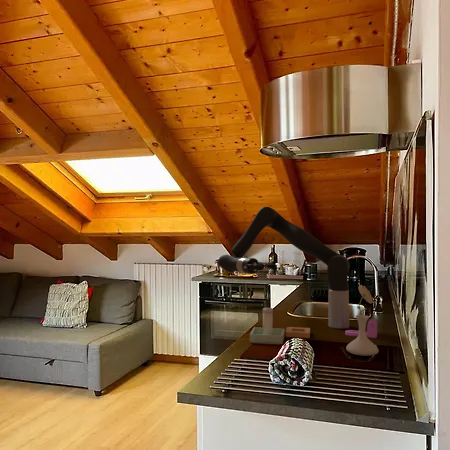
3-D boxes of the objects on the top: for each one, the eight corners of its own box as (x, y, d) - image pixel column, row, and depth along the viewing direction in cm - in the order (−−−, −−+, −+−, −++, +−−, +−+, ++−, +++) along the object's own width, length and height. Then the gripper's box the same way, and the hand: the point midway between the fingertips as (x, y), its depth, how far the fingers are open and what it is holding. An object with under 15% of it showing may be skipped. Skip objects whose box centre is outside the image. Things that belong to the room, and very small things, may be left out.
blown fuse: (273, 336, 188) (273, 307, 188) (272, 339, 184) (272, 309, 184) (263, 336, 189) (263, 307, 189) (261, 338, 185) (262, 309, 185)
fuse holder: (310, 332, 200) (310, 328, 200) (309, 337, 190) (309, 333, 190) (287, 331, 202) (287, 327, 202) (285, 336, 192) (285, 331, 192)
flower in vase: (380, 359, 159) (380, 288, 159) (347, 357, 161) (347, 287, 162) (375, 349, 172) (376, 283, 172) (344, 347, 174) (345, 282, 174)
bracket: (377, 335, 196) (377, 319, 196) (376, 338, 190) (376, 321, 190) (346, 332, 200) (346, 317, 200) (344, 335, 195) (344, 319, 195)
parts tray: (284, 336, 191) (284, 328, 191) (282, 344, 179) (282, 335, 179) (253, 335, 194) (253, 327, 194) (249, 342, 181) (249, 334, 181)
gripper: (235, 258, 213) (256, 259, 200) (259, 257, 222) (281, 258, 208) (235, 274, 213) (257, 276, 200) (259, 272, 221) (281, 274, 208)
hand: (269, 267), depth 204 cm, fingers open, 8 cm apart
